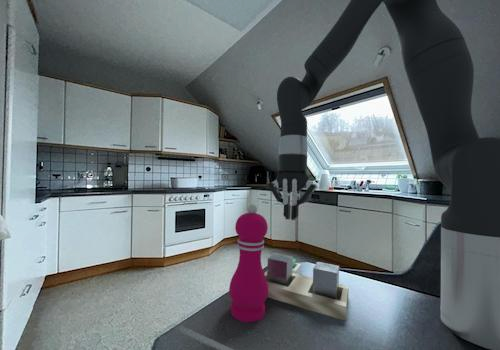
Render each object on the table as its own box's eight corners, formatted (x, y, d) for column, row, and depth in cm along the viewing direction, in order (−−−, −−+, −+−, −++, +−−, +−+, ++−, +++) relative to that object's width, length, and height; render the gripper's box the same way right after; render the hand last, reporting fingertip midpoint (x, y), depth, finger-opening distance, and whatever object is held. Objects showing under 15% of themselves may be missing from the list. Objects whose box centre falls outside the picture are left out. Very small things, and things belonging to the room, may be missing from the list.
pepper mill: (268, 328, 36) (273, 207, 36) (225, 326, 36) (231, 205, 37) (266, 304, 43) (270, 203, 44) (230, 302, 43) (234, 202, 44)
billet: (338, 300, 44) (339, 265, 45) (336, 310, 40) (336, 273, 41) (316, 294, 46) (317, 261, 47) (312, 304, 43) (313, 268, 43)
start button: (295, 268, 57) (295, 259, 57) (292, 272, 54) (292, 262, 55) (285, 266, 58) (285, 257, 58) (281, 269, 56) (282, 260, 56)
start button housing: (300, 275, 57) (301, 264, 57) (295, 283, 53) (296, 270, 53) (282, 271, 60) (282, 260, 60) (275, 278, 55) (276, 266, 55)
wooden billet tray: (348, 300, 46) (348, 286, 46) (345, 324, 38) (345, 306, 38) (269, 279, 54) (270, 267, 54) (253, 295, 46) (254, 281, 46)
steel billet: (291, 287, 49) (292, 256, 49) (285, 296, 45) (287, 262, 45) (273, 282, 51) (274, 253, 51) (266, 290, 47) (267, 258, 47)
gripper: (321, 155, 58) (319, 220, 57) (274, 156, 64) (272, 215, 63) (316, 151, 51) (313, 224, 50) (264, 153, 57) (261, 218, 57)
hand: (290, 219), depth 57 cm, fingers closed
